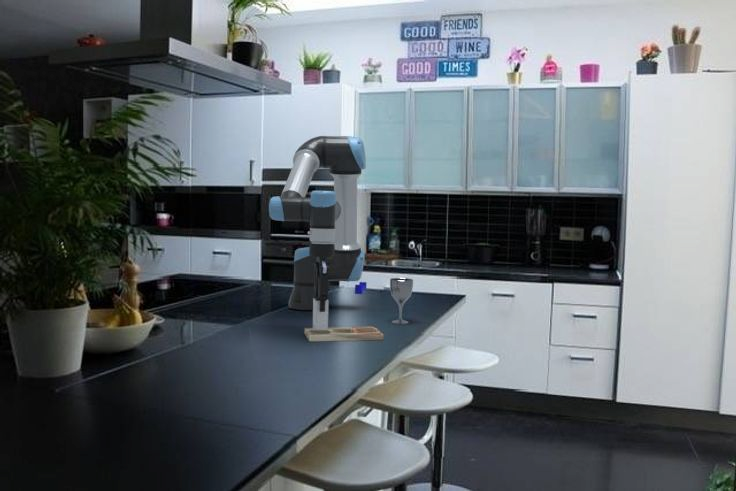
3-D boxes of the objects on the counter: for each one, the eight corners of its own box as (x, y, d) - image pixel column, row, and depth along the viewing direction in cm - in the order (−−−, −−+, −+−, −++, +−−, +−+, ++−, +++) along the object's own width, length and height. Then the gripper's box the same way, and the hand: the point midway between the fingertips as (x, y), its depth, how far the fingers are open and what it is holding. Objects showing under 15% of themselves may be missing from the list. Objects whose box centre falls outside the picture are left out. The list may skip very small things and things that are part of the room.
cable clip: (356, 294, 284) (356, 281, 283) (366, 295, 283) (366, 282, 282) (351, 298, 272) (351, 284, 271) (361, 298, 271) (361, 285, 271)
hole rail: (304, 333, 191) (304, 327, 191) (374, 332, 196) (374, 326, 196) (309, 341, 180) (309, 335, 180) (383, 340, 184) (383, 333, 184)
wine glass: (414, 321, 217) (415, 278, 216) (408, 325, 210) (409, 281, 209) (392, 319, 220) (393, 277, 219) (385, 323, 212) (387, 279, 211)
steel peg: (312, 327, 188) (313, 298, 187) (325, 327, 189) (326, 298, 188) (314, 330, 184) (315, 300, 184) (327, 330, 185) (328, 300, 184)
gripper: (306, 240, 192) (304, 315, 194) (313, 244, 176) (311, 326, 177) (330, 241, 194) (328, 315, 195) (339, 244, 177) (337, 326, 179)
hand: (320, 320), depth 186 cm, fingers closed on steel peg, 4 cm apart
